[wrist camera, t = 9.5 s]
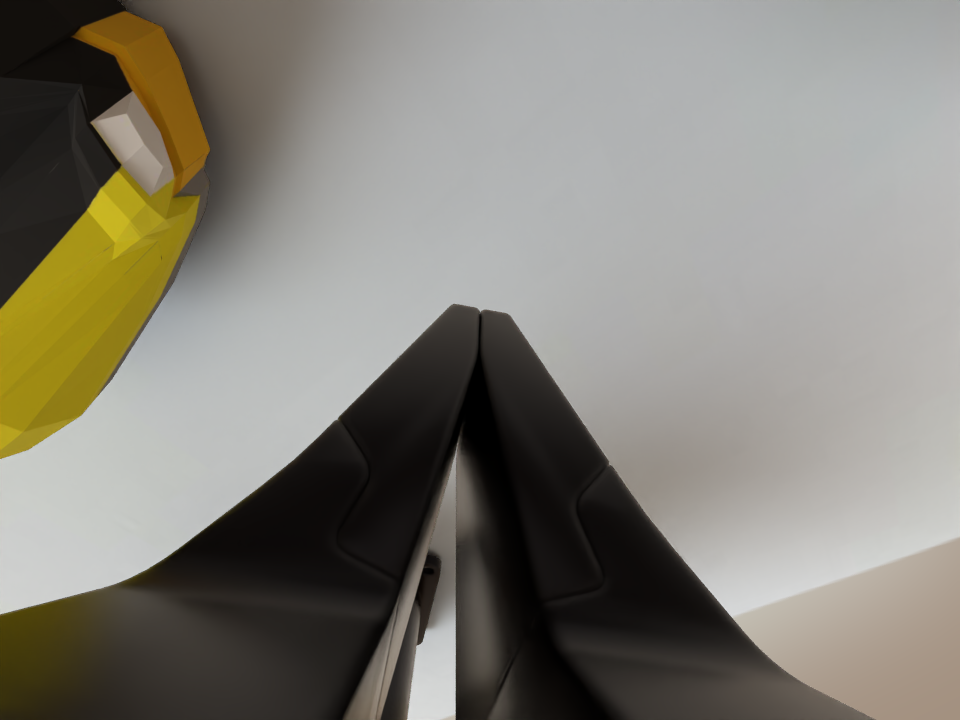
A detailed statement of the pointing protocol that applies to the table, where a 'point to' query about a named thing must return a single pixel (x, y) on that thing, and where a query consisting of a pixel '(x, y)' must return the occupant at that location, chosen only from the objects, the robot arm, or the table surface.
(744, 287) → the table surface
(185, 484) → the table surface
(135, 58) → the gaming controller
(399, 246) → the table surface
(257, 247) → the table surface
